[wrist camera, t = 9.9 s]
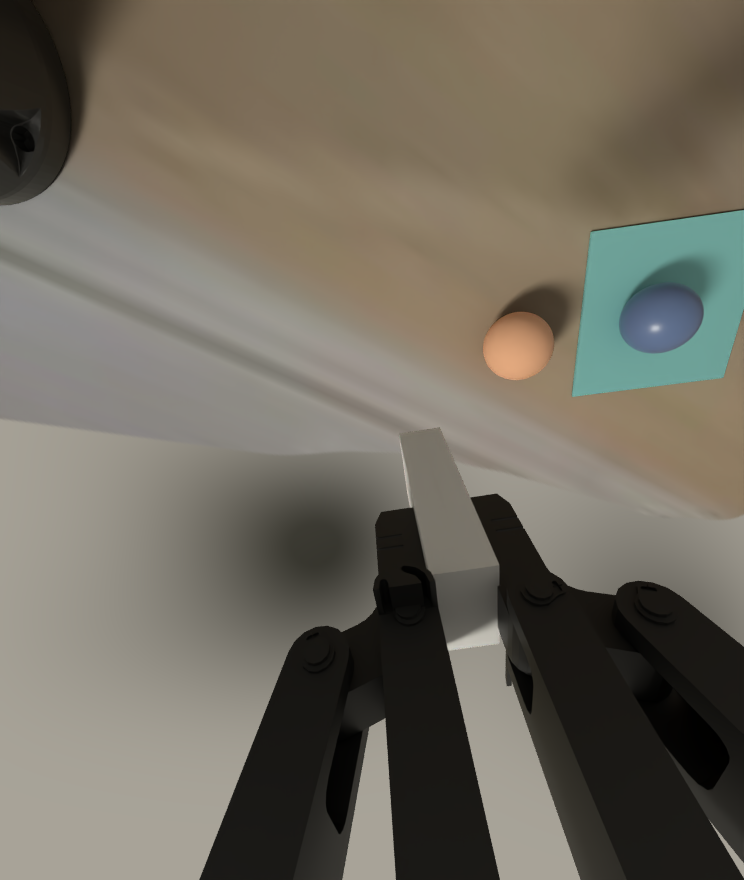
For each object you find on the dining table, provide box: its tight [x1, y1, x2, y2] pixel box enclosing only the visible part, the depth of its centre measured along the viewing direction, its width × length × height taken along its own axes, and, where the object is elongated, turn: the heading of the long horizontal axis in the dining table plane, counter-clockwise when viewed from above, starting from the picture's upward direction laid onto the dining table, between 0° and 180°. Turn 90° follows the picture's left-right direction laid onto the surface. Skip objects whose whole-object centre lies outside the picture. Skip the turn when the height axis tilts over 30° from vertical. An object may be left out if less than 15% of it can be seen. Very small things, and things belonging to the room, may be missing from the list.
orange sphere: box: [483, 312, 554, 380], centre depth 32 cm, size 6×6×6 cm
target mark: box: [572, 210, 744, 397], centre depth 33 cm, size 14×14×1 cm
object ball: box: [619, 282, 704, 354], centre depth 31 cm, size 6×6×6 cm
